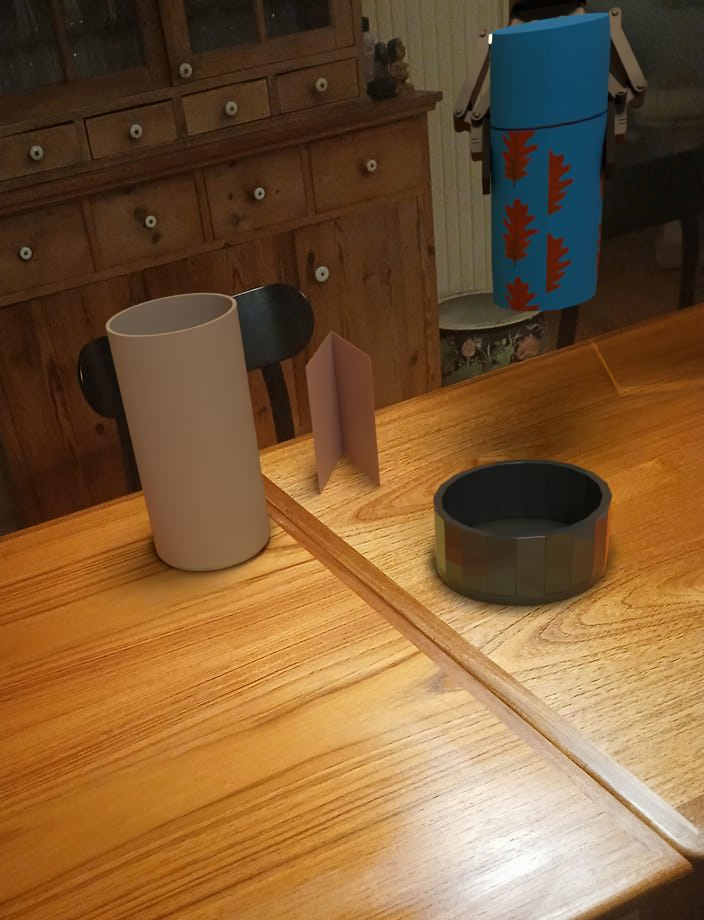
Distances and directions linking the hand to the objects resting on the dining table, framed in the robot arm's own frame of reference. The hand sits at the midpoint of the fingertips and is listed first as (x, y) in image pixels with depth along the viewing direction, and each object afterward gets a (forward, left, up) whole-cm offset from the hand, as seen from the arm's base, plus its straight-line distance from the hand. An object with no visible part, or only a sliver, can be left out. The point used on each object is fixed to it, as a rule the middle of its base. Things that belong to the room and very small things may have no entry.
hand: (546, 179), depth 96 cm
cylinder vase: (+36, +16, -29) cm, 49 cm away
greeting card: (+21, +1, -29) cm, 36 cm away
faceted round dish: (+5, +24, -29) cm, 38 cm away
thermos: (0, -3, -12) cm, 13 cm away
